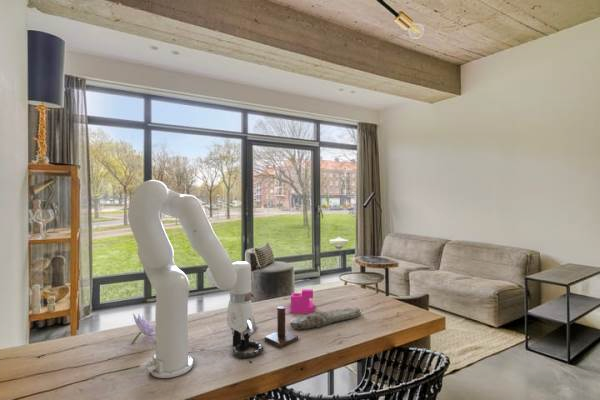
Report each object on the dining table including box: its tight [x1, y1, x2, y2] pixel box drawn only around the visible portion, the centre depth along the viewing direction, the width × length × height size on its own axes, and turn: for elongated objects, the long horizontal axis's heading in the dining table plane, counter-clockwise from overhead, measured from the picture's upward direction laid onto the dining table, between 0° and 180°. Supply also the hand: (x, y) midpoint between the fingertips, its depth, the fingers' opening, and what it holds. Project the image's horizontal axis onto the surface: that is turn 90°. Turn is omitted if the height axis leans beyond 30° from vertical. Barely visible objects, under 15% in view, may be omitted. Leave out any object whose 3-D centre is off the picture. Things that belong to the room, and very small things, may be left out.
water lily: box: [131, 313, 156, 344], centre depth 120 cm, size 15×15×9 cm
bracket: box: [290, 288, 314, 314], centre depth 155 cm, size 12×10×10 cm
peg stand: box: [264, 305, 299, 349], centre depth 121 cm, size 9×9×12 cm
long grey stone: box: [289, 307, 362, 330], centre depth 138 cm, size 35×5×10 cm
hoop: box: [232, 340, 264, 359], centre depth 112 cm, size 10×10×2 cm
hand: (240, 346), depth 115 cm, fingers open, 4 cm apart
